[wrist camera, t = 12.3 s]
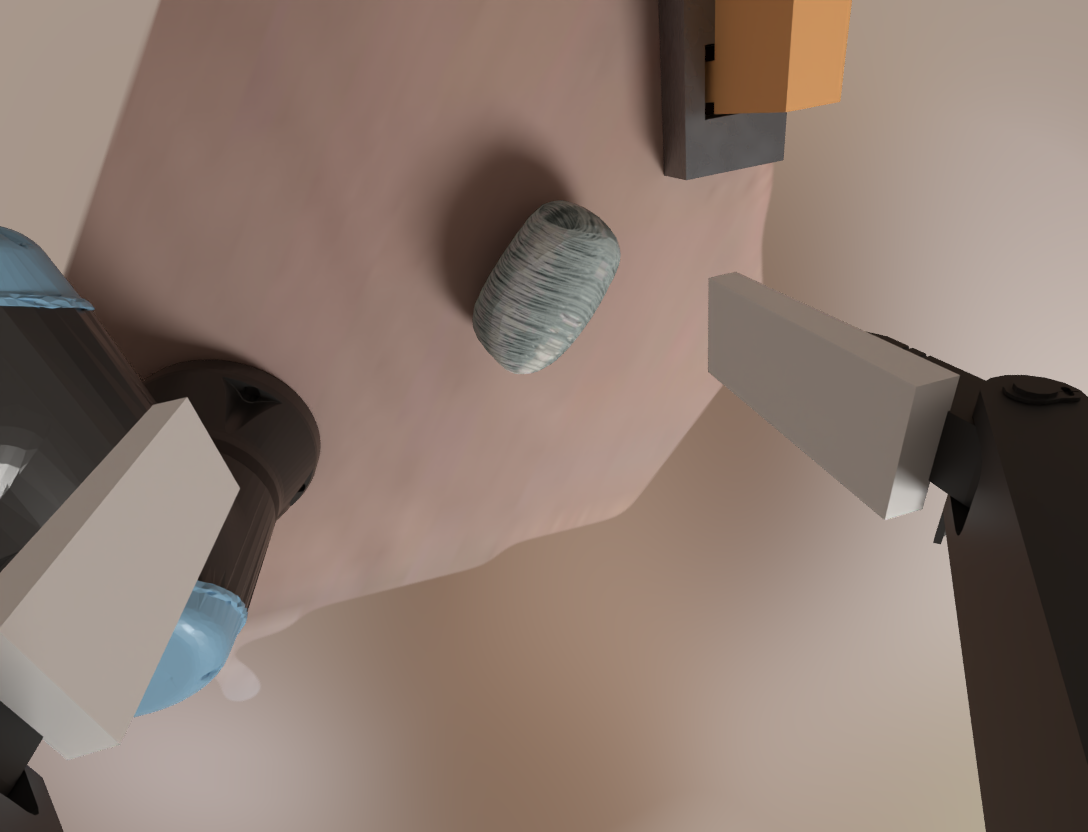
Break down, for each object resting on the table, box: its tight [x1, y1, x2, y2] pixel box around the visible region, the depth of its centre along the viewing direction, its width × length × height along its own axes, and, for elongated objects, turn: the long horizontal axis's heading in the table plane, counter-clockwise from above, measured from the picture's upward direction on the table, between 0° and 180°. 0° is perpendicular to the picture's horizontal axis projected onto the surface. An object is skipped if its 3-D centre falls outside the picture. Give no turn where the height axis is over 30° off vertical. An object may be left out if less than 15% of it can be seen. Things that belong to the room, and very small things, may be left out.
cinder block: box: [658, 0, 787, 180], centre depth 37 cm, size 8×20×4 cm, turn 9°
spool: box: [473, 200, 620, 374], centre depth 42 cm, size 14×10×10 cm
